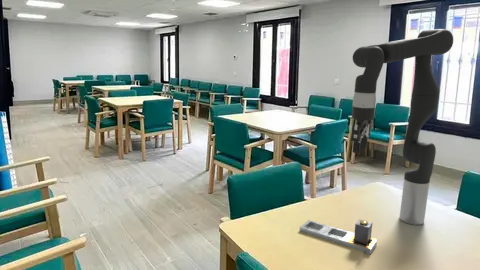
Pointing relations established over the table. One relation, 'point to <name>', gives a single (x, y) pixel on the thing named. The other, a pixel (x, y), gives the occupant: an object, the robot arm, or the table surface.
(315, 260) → the table surface
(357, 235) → the dark gray block
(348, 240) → the white slotted tray
